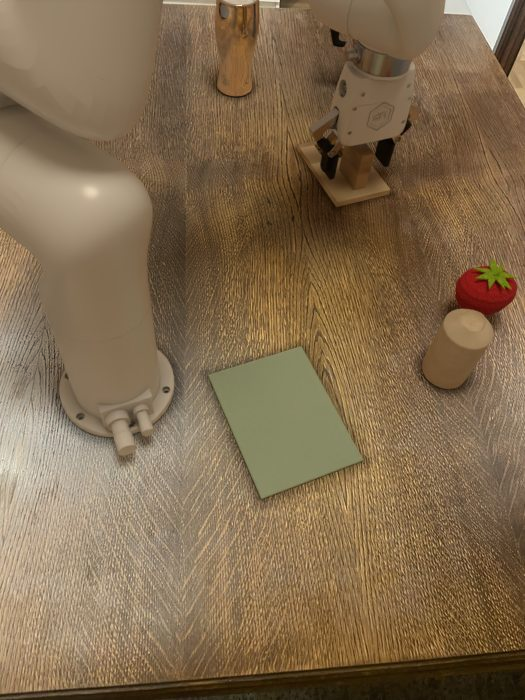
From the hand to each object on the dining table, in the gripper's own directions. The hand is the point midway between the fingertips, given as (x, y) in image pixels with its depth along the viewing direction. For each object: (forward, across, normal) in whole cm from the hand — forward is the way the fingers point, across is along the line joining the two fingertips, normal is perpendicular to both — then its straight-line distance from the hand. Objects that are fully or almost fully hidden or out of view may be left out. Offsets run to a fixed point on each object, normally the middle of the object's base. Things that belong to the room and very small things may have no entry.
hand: (354, 167), depth 89 cm
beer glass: (+3, -8, +29) cm, 30 cm away
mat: (+3, -26, -33) cm, 42 cm away
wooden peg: (+3, 0, +7) cm, 8 cm away
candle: (+3, -5, -34) cm, 35 cm away
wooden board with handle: (+3, 0, +3) cm, 4 cm away
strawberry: (+3, +3, -28) cm, 28 cm away
